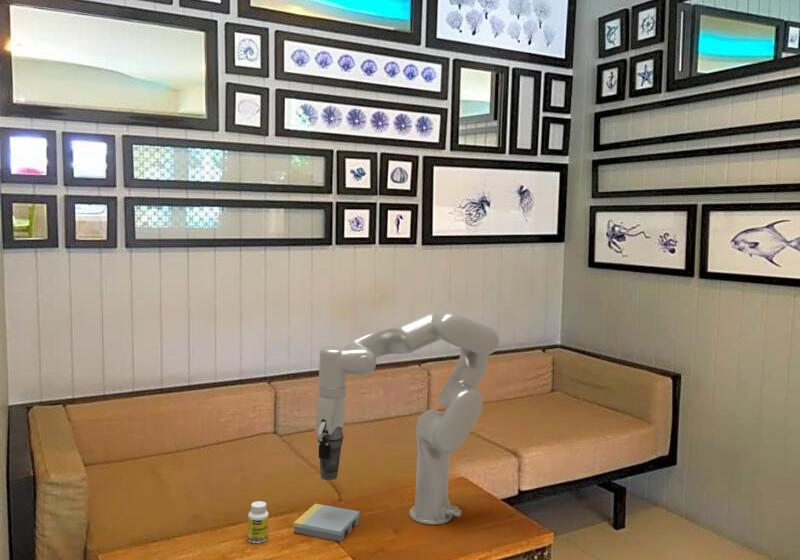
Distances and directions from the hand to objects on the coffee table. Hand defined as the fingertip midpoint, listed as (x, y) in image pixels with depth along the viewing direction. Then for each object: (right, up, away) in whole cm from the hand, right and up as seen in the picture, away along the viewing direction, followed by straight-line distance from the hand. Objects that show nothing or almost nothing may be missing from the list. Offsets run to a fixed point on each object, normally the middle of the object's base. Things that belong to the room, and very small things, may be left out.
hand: (329, 453), depth 186 cm
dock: (-1, -21, +2) cm, 21 cm away
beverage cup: (0, -7, +1) cm, 7 cm away
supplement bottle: (-19, -21, -7) cm, 29 cm away
